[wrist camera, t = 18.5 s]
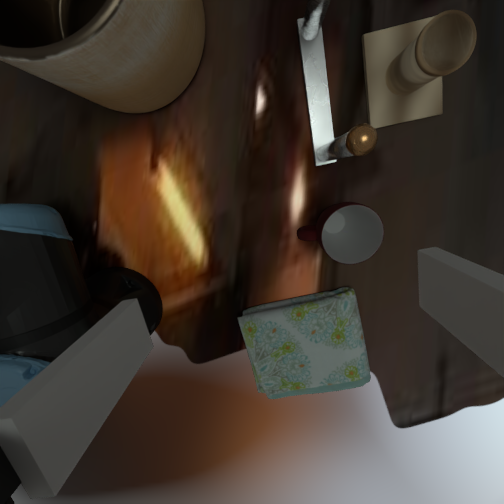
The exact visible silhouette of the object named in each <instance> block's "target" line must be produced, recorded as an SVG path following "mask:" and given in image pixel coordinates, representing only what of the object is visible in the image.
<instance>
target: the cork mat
mask: <svg viewBox="0 0 504 504" xmlns="http://www.w3.org/2000/svg"><path fill="white" fill-rule="evenodd" d="M434 17H435V16H434ZM434 17H430V18H426V19H422V20H418V21H414V22H411V23H407V24H403V25H399V26H395V27H391V28H387V29H383V30H379V31H375V32H371V33H368V34H364V35H363V36H362V48H363V61H364V74H365V87H366V100H367V113H368V124H369V125H371V126H372V127H374V129H376V128H381V127H385V126H390V125H394V124H399V123H403V122H408V121H412V120H417V119H422V118H426V117H431V116H435V115H439V114H442V76H441V77H438V78H436V79H434V80H433V81H431V82H429V83H428V84H426V85H424V86H423V87H421V88H419V89H418V90H416V91H414V92H412V93H411V94H408V95H404V96H399V95H396V94H394V93H392V92H391V91H390V90H389V88H388V87H387V84H386V72H387V69H388V67H389V65H390V63H391V62H392V61H393V60H394V59H395V58H396V57H397V56H398V55H399V54H400V53H401V52H402V51H403V50H404V49H405V48H406V47H407V46H408V45H409V44H411V43H412V42H413V41H414V40H415V39H416V38H417V37H418V36H419V34H420V32H421V31H422V29H423V28H424V27H425V26H426V25H427V24H428V23H429V22H430V21H431V20H432V19H433V18H434Z"/></svg>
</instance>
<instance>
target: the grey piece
mask: <svg viewBox="0 0 504 504" xmlns="http://www.w3.org/2000/svg"><path fill="white" fill-rule="evenodd" d="M329 3H330V0H308V3H307V7H306V11H305V15H304V18H301V19H297V24H296V25H297V33H298V41H299V48H300V56H301V63H302V71H303V78H304V86H305V93H306V101H307V109H308V116H309V124H310V131H311V139H312V146H313V154H314V161H315V166H318V165H323V164H328V163H332V162H336V159H340V158H345V157H349V156H353V155H355V156H363V155H366V154H368V153H369V152H371V151H372V150H373V149H374V147H375V145H376V143H377V139H378V136H377V132H376V130H375V129H374V127H372V126H371V125H369V124H359V125H356V126H354V127H353V128H352V129H351V130H350V131H349V132H347V133H346V134H344V135H342V136H340V137H338V138H336V139H334V136H333V127H332V118H331V109H330V100H329V91H328V82H327V73H326V64H325V55H324V46H323V37H322V28H321V25H322V22H323V19H324V17H325V14H326V11H327V9H328V6H329Z"/></svg>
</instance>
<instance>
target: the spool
mask: <svg viewBox="0 0 504 504" xmlns="http://www.w3.org/2000/svg"><path fill="white" fill-rule="evenodd" d="M475 43H476V28H475V24H474V22H473V20H472V19H471V18H470V17H469V16H468V15H467V14H466V13H464V12H462V11H459V10H448V11H445V12H442V13H440V14H438V15H437V16H435V17H434V18H433V19H432V20H431V21H430V22H429V23H428V24H427V25H426V26H425V27H424V28H423V29H422V31H421V32H420V34H419V36H418V37H417V38H416V39H415V40H414V41H413V42H412V43H411V44H409V45H408V46H407V47H406V48H405V49H404V50H403V51H402V52H401V53H400V54H399V55H398V56H397V57H396V58H395V59H394V60H393V61H392V62H391V63H390V65H389V67H388V69H387V72H386V84H387V87H388V88H389V90H390V91H391V92H392V93H394V94H396V95H399V96H404V95H408V94H411V93H412V92H414V91H416V90H418V89H419V88H421V87H423V86H424V85H426V84H428V83H429V82H431V81H433V80H434V79H436V78H438V77H441V76H445V75H448V74H450V73H452V72H453V71H455V70H457V69H458V68H460V67H461V66H462V65H463V64H464V63H465V62H466V61H467V60H468V59H469V57H470V56H471V54H472V52H473V50H474V47H475Z"/></svg>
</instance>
